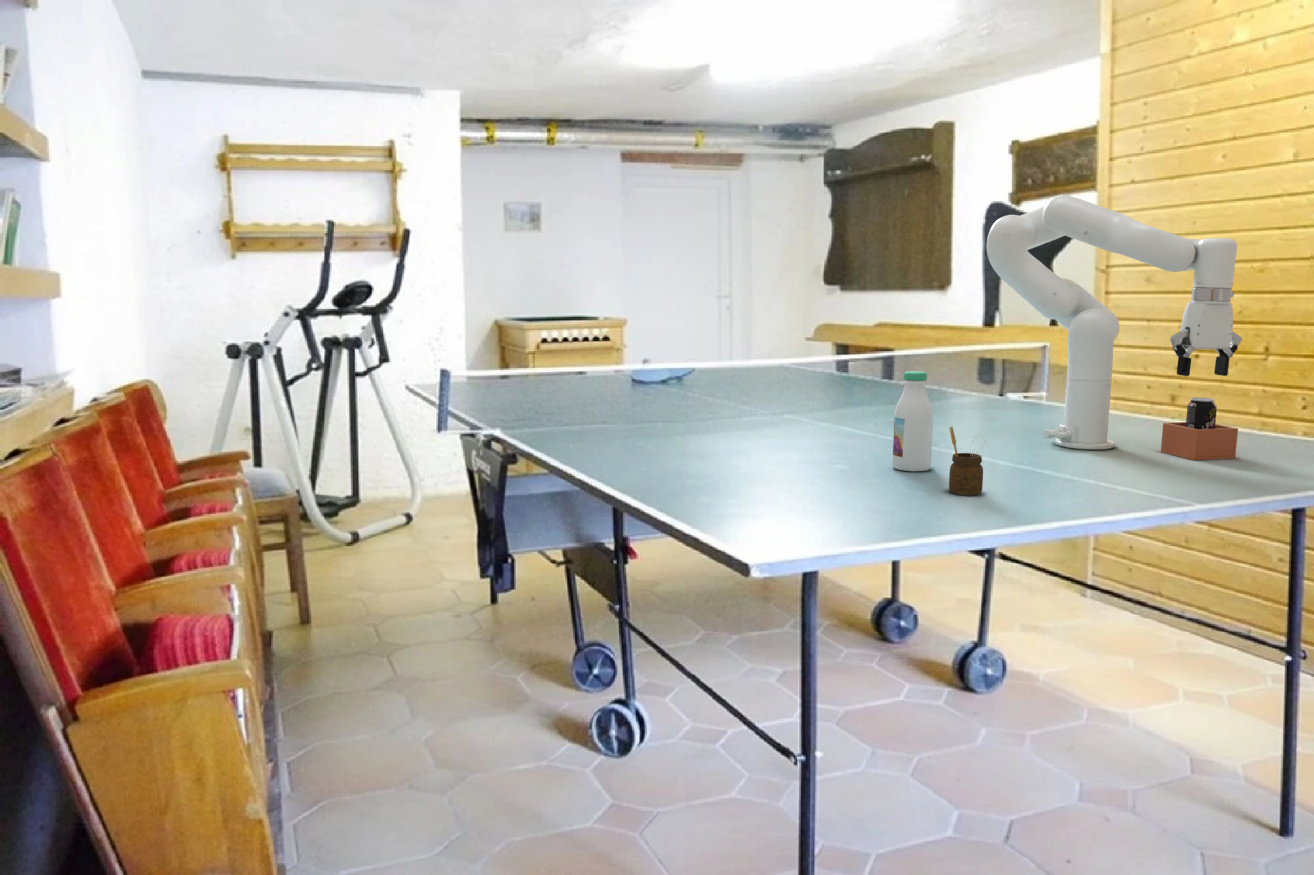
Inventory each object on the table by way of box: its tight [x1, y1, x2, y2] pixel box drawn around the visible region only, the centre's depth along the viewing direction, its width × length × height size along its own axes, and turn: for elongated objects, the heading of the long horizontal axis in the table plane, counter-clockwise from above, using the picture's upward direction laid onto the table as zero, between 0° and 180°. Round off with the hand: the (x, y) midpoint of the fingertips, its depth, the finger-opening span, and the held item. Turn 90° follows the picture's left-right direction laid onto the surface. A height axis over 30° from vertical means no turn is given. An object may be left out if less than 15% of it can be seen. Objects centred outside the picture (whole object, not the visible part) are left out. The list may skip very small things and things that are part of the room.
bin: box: [1160, 421, 1239, 461], centre depth 224 cm, size 10×10×7 cm
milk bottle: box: [891, 370, 934, 472], centre depth 207 cm, size 8×8×20 cm
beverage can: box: [1185, 397, 1218, 429], centre depth 223 cm, size 6×6×12 cm
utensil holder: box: [948, 426, 986, 496], centre depth 186 cm, size 6×6×12 cm
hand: (1201, 375), depth 222 cm, fingers open, 9 cm apart
